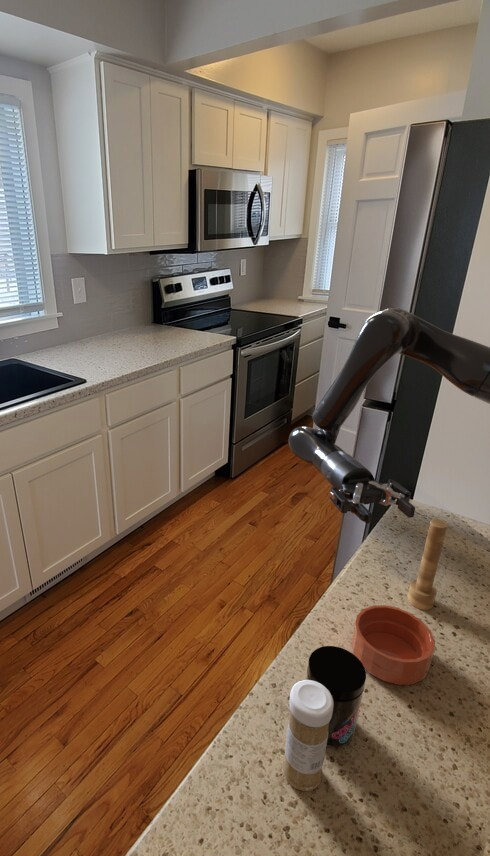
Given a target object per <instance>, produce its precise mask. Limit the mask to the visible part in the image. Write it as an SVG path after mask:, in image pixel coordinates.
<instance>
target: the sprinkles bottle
mask: <svg viewBox="0 0 490 856" xmlns="http://www.w3.org/2000/svg"><path fill="white" fill-rule="evenodd" d="M288 701H289V702H288V706H289V717H288V722H287V729H286V737H285V738H286V739H285V746H284V747H285V748H284V760H283V763H282V770H283V771H282V772H283V775H284V777H285V779H286V780H287V782H288V783H289V785H291V786H292V788H293V789H294V788H295V789H296V790H298V791H302V792H311V791H313V790H315V789H316V788H318V787H319V785H320V783H321V781H322V780H321V779H322V769H323V766H324V762H325V756H326V752H327V751H326V750H327V739H328V727H329V722H330V720H331V718H332V713H333V698H332V695H331V694H330V692H329V691H328V689H327V688H326V687H325V686H323V685H322V684H320V683H318V682H316V681H312V680H307V679H303V680H299V681H297V682H296V683H295V684H294V685H292V687H291V689H290V694H289V700H288Z"/></svg>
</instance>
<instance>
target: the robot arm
mask: <svg viewBox="0 0 490 856" xmlns="http://www.w3.org/2000/svg"><path fill="white" fill-rule="evenodd" d="M397 355H402V356H405V357H408V358H411V359H413V360H416V361H419V362H420V363H423V364H425V365H427V366H429V367H431V368H432V369H433V370H435V371H436V372H438V373H439V374H440V375H441V376H443V377H444V378H445V380H447V381H448V382H449V383H451V384H452V385H453V386H455V387H456V388H457V389H458V390H460V391H462V392H463V393H465V394H466V395H468V396H471V397H473V398H475V399H477V400H479V401H481V402H484V403H486V404H488V405H490V346H488V345H485V344H483V343H479V342H477V341H474V340H471V339H469V338H465V337H463V336H459V335H456V334H453V333H451V332H448V331H446V330H444V329H442V328H440V327H438V326H436V325H434V324H432V323H430V322H428V321H426V320H425V319H422V318H421V317H419V316H418V315H415V314H414V313H412V312H410V311H407V310H406V309H402V308H397V307H390V308H386V309H382V310H381V311H378V312H377V313H375V314H372V315H371V316H369V317H368V318H367V319H366V320H365V322H363V324H362V326H361V328H360V330H359V332H358V335H357V337H356V339H355V340H354V344H353V346H352V349H351V351H350V353H349V355H348V356H347V358H346V361H345V363H344V365H343V367H342V369H340V372H339V374H338V375H337V376H336V378H335V380H334V381H333V382H332V384H331V385H330V387H329V389H328V390H327V391H326V393H325V394H324V395H323V397H322V399H321V400H320V402H319V403H318V404H317V407H316V408H315V409H314V411H313V413H312V418H311V419H312V421H313V423H314V424H315V425H316V426H317V427H318V428H313V427H309V426H297V427H295V428H294V429H292V430H291V432H290V433H289V436H288V446H289V449H290V450H291V452H292V453H293V454H294V455H295V456H296V457H298V458H299V459H300V460H302V461H303V462H305V463H307V464H309V465H311V466H313V467H315V469H316V470H317V471H318V472H319V473H320V474H321V475H322V476H323V478H324V479H325V480H326V481H327V482H328V484H329V485H330V486H331V487H330V493H329V500H330V501H331V502H332V504H334V506H335V507H336V508H337V510H338V511H339V512H340V513H341V514H347V513H348V512H350V513H351V514H353V515H355V516H356V517H357V518H358V519H359V520H360V521H361V522H362V523H363V522H364V523H365V524H367V525H368V524H372V520H373V514H372V512H371V511H370V510H369V509H368V508H367V507H366V505H370V504H380V505H382V506H385V507H387V506H389V505H390V506H393V507H395V508H397V510H399V512H401V513H402V514H404V516H406V518H408V519H411V518H414V516H415V511H416V507H415V505H413V504H412V503H411V502H410V499H411V496H412V492H411V491H409V490H408V489H407V488H405V487H404V486H402V485H401V484H400V483H399V482H397V481H395V479H388V480H387V483H381V482H380V481H377V480H376V479H375V477H374V475H373V473H372V472H371V470H369V468H367V467H366V466H364V465H363V464H362V463H361V462H359V460H357V459H356V458H355V457H354V456H352V455H351V454H349V453H347V452H346V451H345V450H344V449H342V448H341V447H340V446H339V445H337V444H336V442H337V439H338V436H339V434H340V431H341V428H342V426H343V425H344V423H345V422H346V421H347V419H348V418H349V417H350V415H351V414H352V412H353V411H354V409H355V408H356V406H357V405H358V403H359V401H360V399H361V397H362V395H363V393H364V391H365V389H366V388H367V386H368V384H369V383H370V382H371V380H372V379H373V377H374V376H375V375H376V374H377V373H378V372H379V371H380V370H381V369H382V368H383V367H384V366H385V365H386V364H387V363H388V362H389V361H390V360H391V359H392V358H393V357H394V356H397ZM384 493H385V498H383V494H384ZM392 497H393V498H394V499H395V500H394V499H392Z"/></svg>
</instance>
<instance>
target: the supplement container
mask: <svg viewBox="0 0 490 856" xmlns="http://www.w3.org/2000/svg"><path fill="white" fill-rule="evenodd" d="M366 671H367V670H366V669H365V668H364V666H363V664H362V663H361V661H360V660H359V659H358V658H357V657H356V656H355V655H354V654H353V652H351V651H349V650H347V649H345V648H343V647H340V646H334V645H324V646H320V647H317V648H316V649H314V650H312V652H311V653H310V655H309V656H308V662H307V668H306V680H312V681H316V682H318V683H320V684H322V685H323V686H325V687H326V688H327V689H328V691H329V692H330V694H331V695H332V698H333V713H332V718H331V720H330V722H329V727H328V739H327V745H326V747H333V748H337V747H342V746H345V745H346V744H348V743H350V742H351V741H352V740H353V738H354V736H355V735H356V729H357V724H358V718H359V714H360V708H361V703H362V700H363V699H362V698H363V693H364V692H365V686H366V680H367V672H366Z"/></svg>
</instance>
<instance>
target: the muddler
mask: <svg viewBox="0 0 490 856" xmlns="http://www.w3.org/2000/svg"><path fill="white" fill-rule="evenodd" d="M448 527H449V525H448V523H447V522H446V521H445V520H442V519H439V518H433V519H431V520H430V523H429V525H428V531H427V536H426V540H425V544H424V549H423V552H422V557H421V561H420V565H419V568H418V574H417V578H416V579H414V580H412V581H411V582H410V585H409V589H408V593H407V596H406V597H407V601H408V603H409V604H410V605H411V606H413V608H416V609H418V610H422V611H428V610H431V609H432V608H434V605H435V600H436V597H437V593H438V591H437V587H435V585H434V582H435V579H436V574H437V571H438V566H439V562H440V558H441V554H442V551H443V547H444V542H445V540H446V539H445V538H446V535H447V530H448Z"/></svg>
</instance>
